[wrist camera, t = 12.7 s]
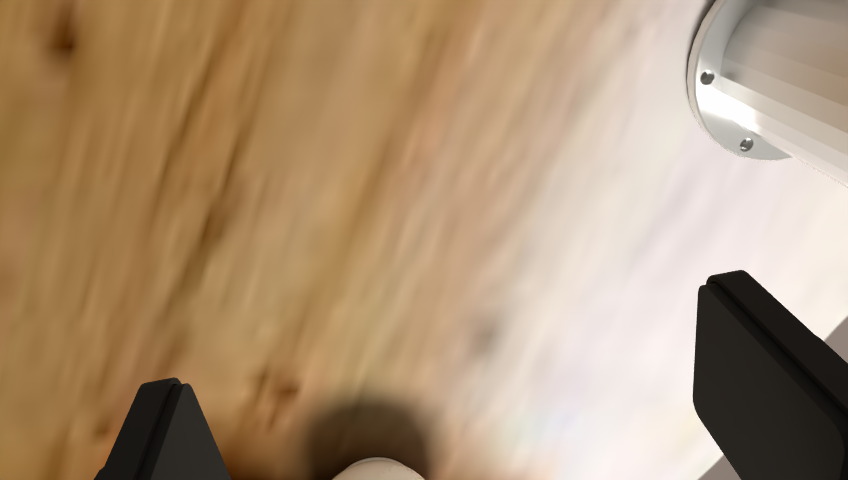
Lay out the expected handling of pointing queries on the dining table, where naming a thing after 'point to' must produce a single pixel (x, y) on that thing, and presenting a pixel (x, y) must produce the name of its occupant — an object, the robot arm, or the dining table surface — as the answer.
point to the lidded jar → (378, 470)
